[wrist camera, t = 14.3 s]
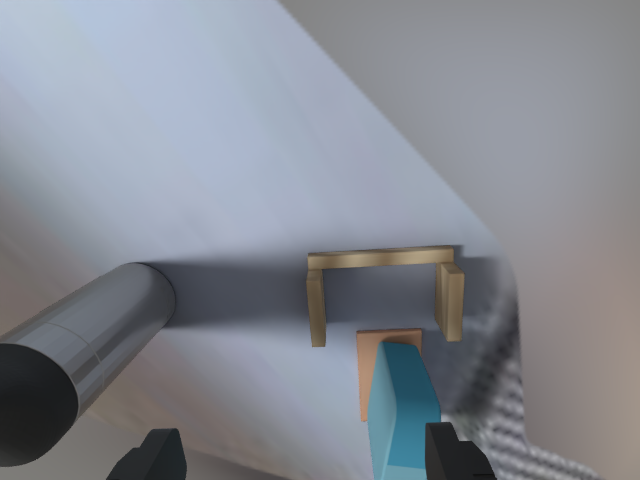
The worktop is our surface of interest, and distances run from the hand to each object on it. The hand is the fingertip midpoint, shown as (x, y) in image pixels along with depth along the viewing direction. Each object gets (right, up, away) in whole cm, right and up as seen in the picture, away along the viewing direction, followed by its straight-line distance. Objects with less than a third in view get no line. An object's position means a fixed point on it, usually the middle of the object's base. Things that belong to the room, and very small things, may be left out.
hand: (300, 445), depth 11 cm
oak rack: (+8, 0, +31) cm, 32 cm away
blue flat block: (+10, -11, +34) cm, 37 cm away
